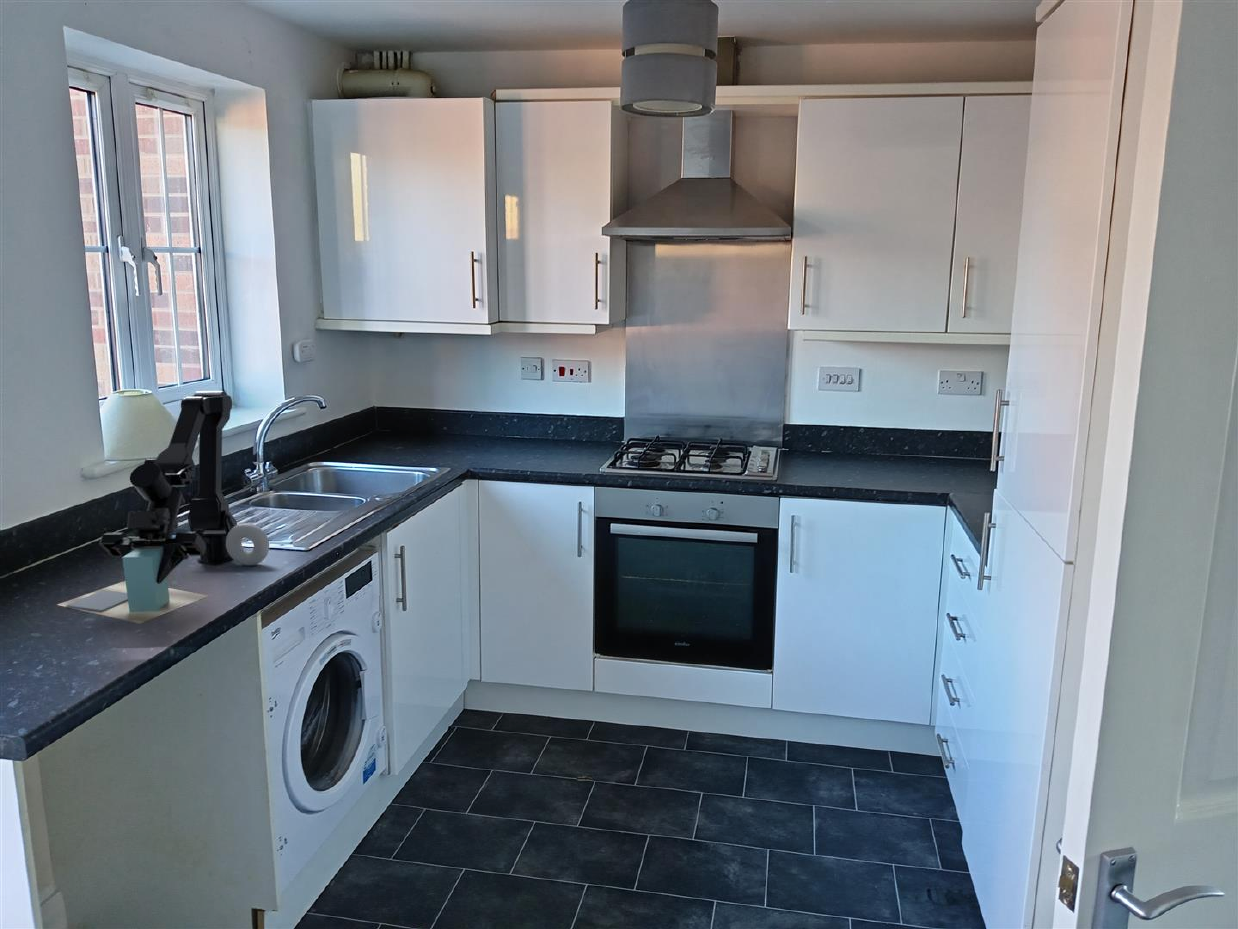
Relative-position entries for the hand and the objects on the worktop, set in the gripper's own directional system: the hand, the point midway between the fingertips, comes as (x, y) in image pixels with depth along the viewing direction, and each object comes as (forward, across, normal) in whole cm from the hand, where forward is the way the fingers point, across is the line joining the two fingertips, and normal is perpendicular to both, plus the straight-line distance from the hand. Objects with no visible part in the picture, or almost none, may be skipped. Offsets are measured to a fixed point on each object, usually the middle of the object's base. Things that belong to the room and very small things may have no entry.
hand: (143, 583), depth 183 cm
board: (+1, -5, +8) cm, 10 cm away
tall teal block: (+3, 0, +5) cm, 5 cm away
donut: (-16, +9, +27) cm, 33 cm away
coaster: (+1, -11, +7) cm, 13 cm away
